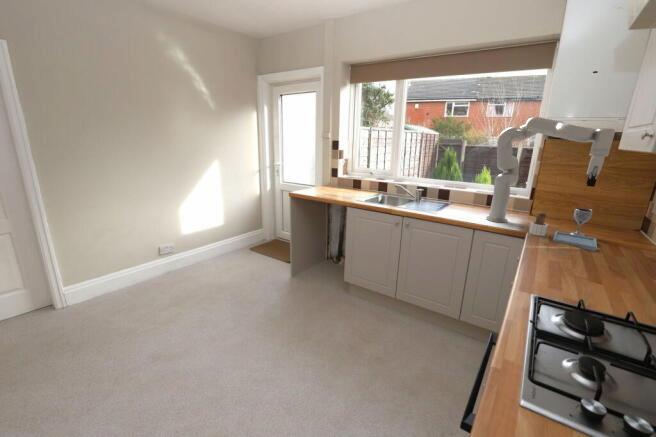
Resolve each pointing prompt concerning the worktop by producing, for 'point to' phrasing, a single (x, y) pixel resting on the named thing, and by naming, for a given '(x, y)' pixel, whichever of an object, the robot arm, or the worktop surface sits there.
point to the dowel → (540, 218)
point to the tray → (576, 240)
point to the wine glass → (581, 218)
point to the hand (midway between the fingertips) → (590, 185)
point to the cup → (538, 229)
